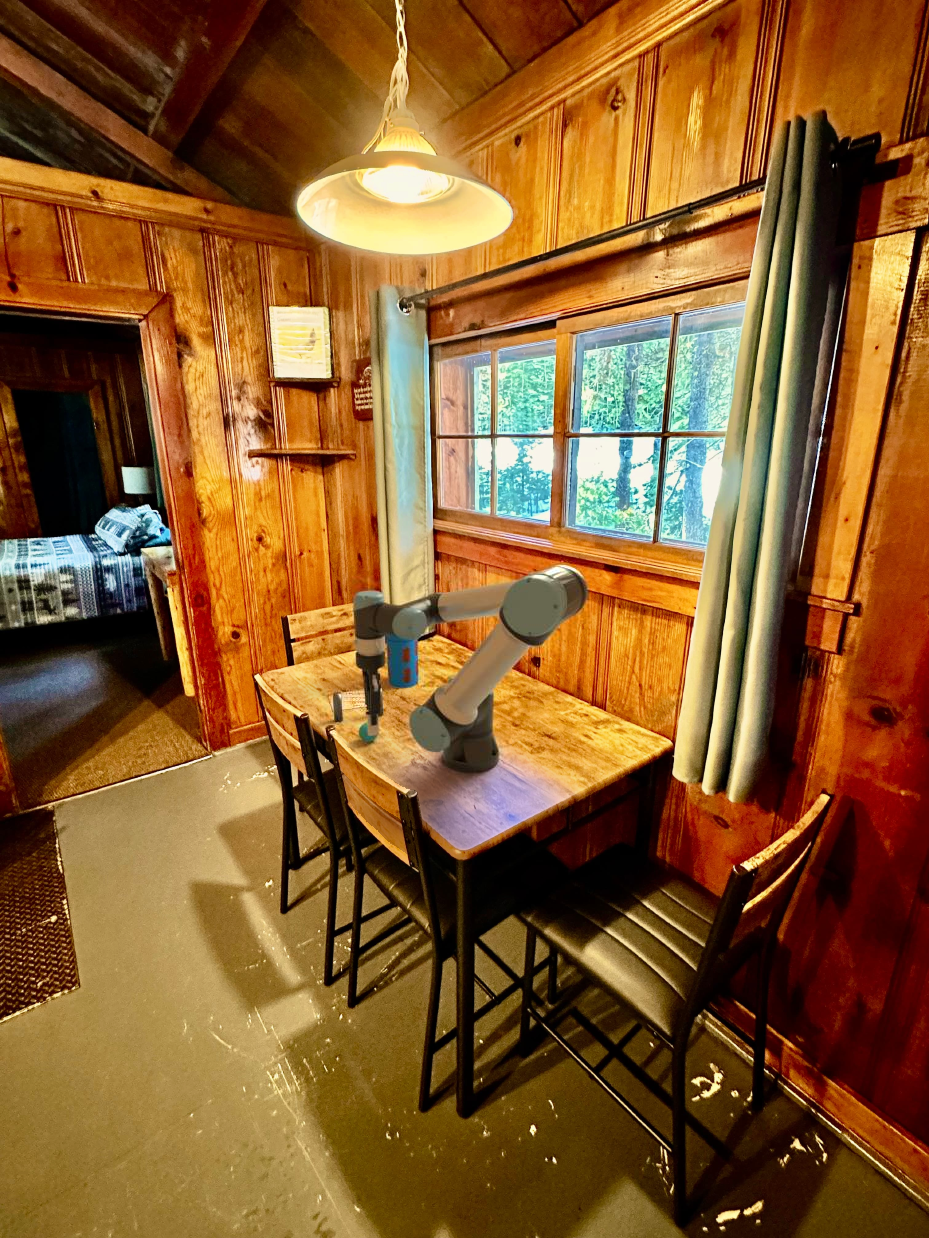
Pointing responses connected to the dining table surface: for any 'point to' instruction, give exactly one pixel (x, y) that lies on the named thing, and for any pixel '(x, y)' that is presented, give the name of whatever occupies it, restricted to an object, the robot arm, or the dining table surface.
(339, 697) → the post left
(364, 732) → the ball
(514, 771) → the dining table surface
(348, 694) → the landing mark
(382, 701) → the post right
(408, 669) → the thermos
